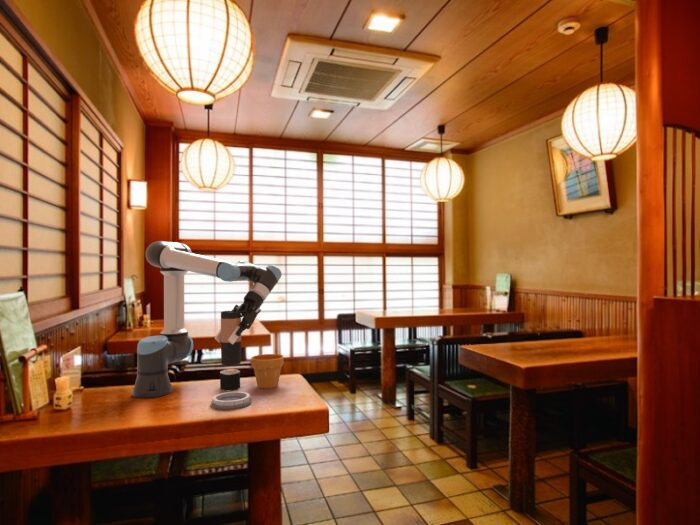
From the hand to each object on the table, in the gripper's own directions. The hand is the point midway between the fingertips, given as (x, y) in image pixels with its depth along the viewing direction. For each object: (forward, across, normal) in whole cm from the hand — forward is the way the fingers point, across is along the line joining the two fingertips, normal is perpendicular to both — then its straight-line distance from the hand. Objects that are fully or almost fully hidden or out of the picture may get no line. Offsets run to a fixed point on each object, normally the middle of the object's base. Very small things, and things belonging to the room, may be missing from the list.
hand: (223, 341), depth 163 cm
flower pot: (-3, +8, -38) cm, 39 cm away
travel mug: (+4, 0, -9) cm, 10 cm away
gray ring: (+15, 0, -20) cm, 25 cm away
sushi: (+5, +19, -30) cm, 36 cm away
